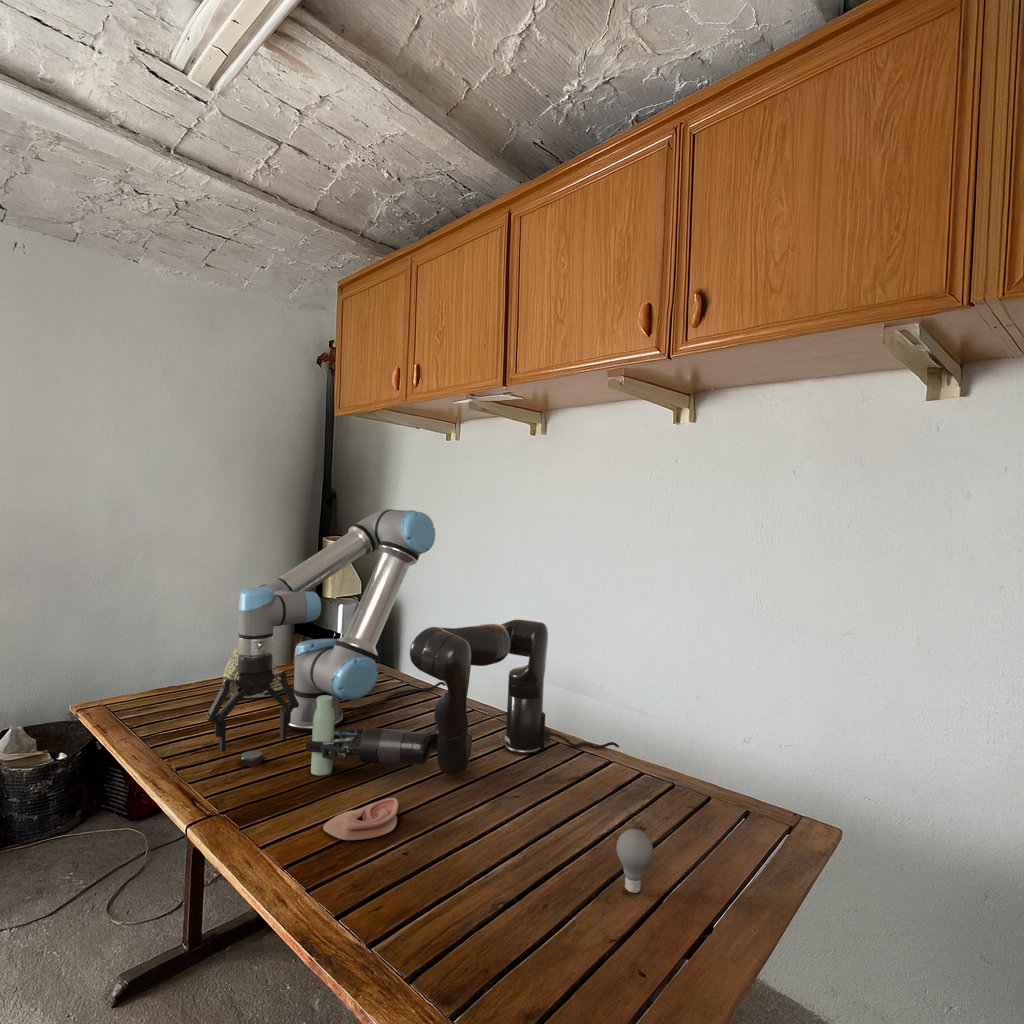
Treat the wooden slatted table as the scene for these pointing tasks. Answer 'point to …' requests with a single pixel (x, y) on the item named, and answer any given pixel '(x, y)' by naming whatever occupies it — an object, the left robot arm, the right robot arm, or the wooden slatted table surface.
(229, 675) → the fossil
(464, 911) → the wooden slatted table surface
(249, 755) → the cap
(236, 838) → the wooden slatted table surface
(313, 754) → the bottle
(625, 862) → the light bulb
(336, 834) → the anatomical model
